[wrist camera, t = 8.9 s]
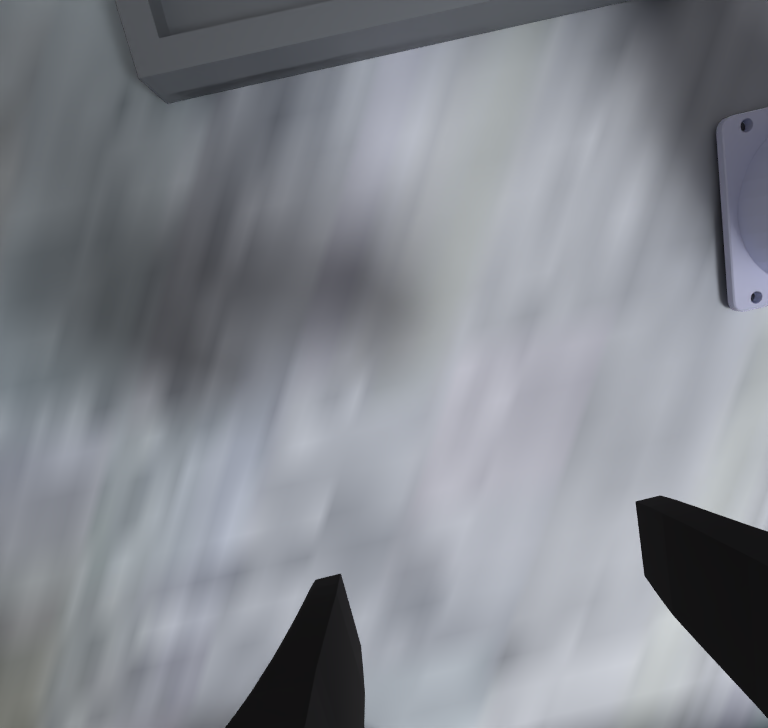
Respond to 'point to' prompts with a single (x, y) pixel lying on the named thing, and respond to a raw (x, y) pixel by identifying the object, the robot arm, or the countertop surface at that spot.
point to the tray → (300, 35)
